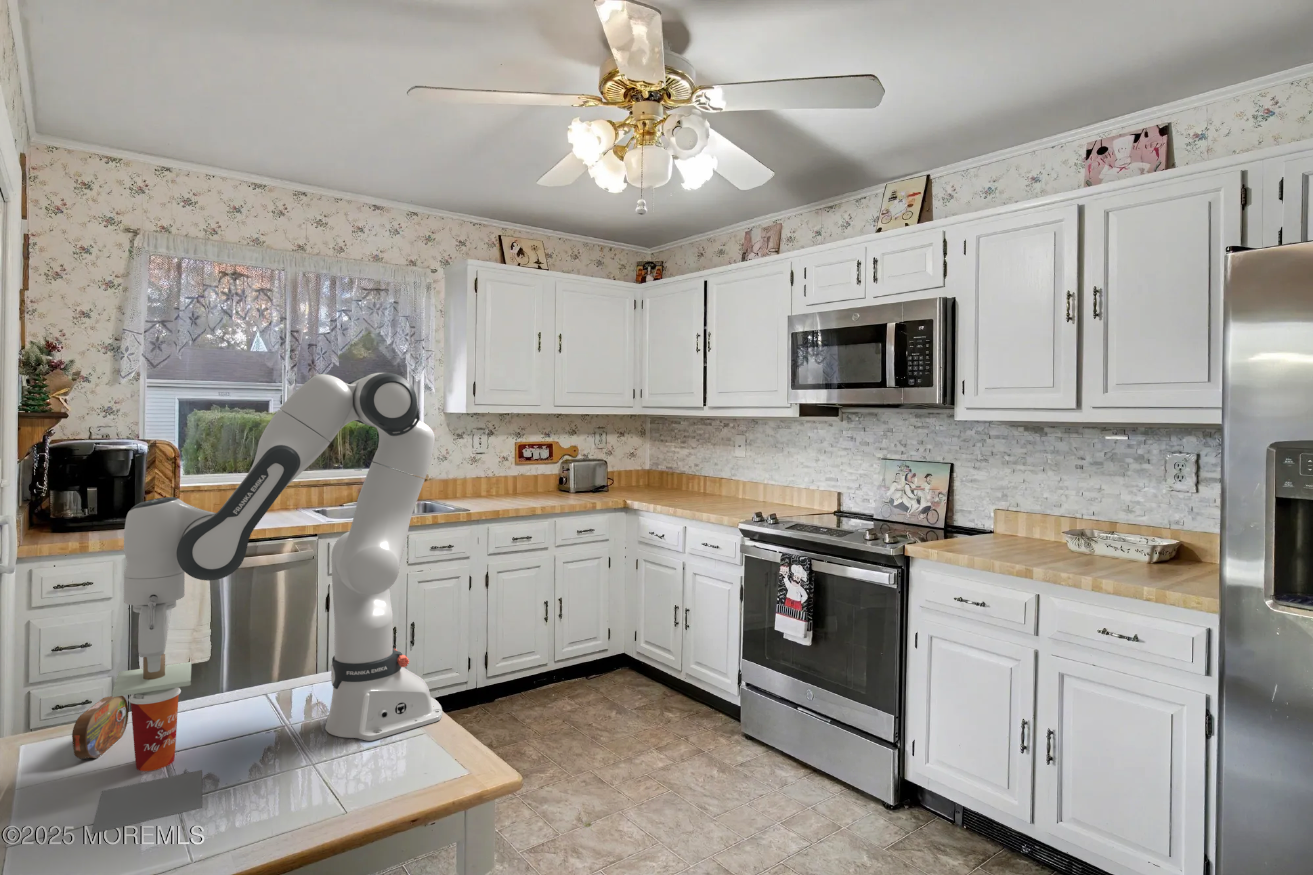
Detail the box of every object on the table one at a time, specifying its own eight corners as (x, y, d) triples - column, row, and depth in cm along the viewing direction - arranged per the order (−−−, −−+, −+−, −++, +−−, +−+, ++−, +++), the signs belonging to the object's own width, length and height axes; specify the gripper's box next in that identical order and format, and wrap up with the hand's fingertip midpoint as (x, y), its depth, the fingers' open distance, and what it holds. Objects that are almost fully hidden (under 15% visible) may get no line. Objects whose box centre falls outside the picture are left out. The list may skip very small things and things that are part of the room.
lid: (191, 665, 136) (191, 642, 136) (190, 685, 126) (190, 660, 126) (118, 676, 130) (118, 651, 130) (112, 697, 121) (112, 671, 120)
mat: (202, 771, 127) (202, 769, 127) (202, 810, 115) (202, 807, 115) (102, 793, 119) (102, 790, 119) (91, 836, 107) (91, 833, 107)
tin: (88, 766, 128) (88, 719, 128) (68, 768, 127) (67, 721, 127) (130, 729, 143) (130, 687, 142) (112, 731, 142) (112, 688, 142)
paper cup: (154, 778, 124) (154, 698, 124) (117, 773, 126) (116, 694, 125) (192, 757, 132) (191, 681, 131) (156, 752, 133) (156, 677, 133)
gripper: (174, 601, 121) (174, 682, 121) (177, 576, 138) (177, 647, 138) (127, 605, 117) (127, 689, 118) (137, 579, 135) (137, 652, 135)
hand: (155, 666), depth 128 cm, fingers closed on lid, 3 cm apart
